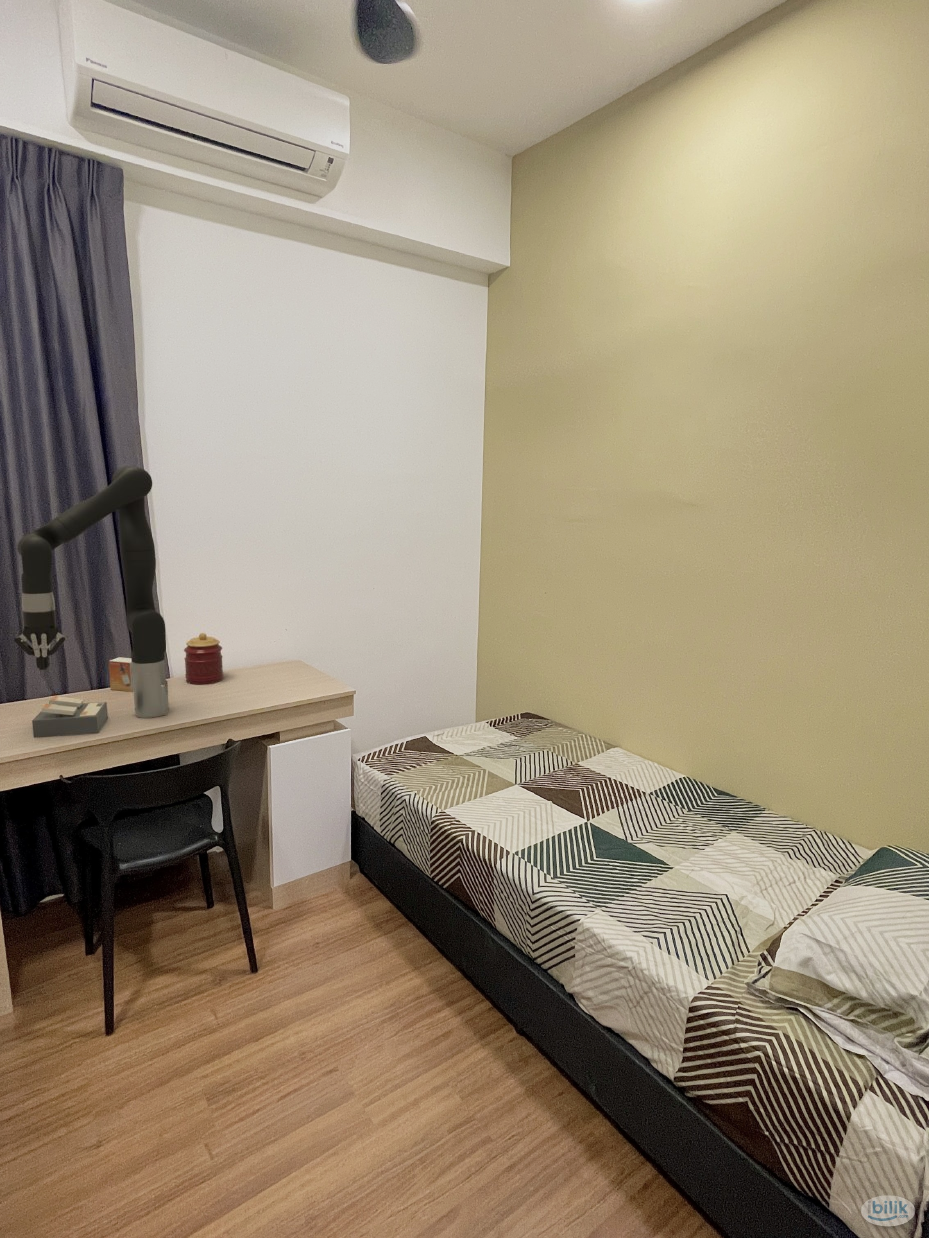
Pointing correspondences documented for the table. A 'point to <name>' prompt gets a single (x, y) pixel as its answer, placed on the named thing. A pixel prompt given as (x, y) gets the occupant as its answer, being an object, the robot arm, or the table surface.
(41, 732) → the box
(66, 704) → the rocker
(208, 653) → the canister
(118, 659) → the small box
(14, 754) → the table surface
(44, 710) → the rocker
